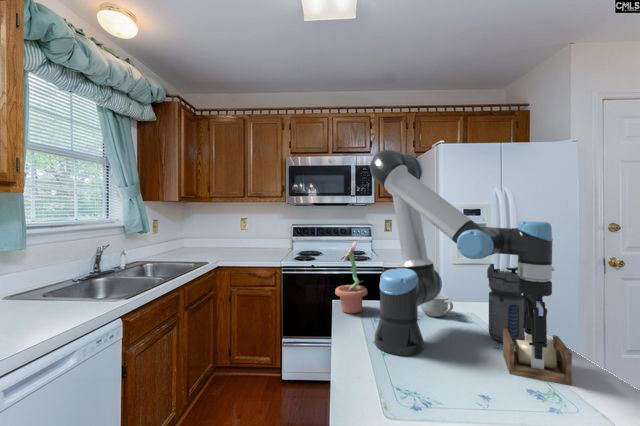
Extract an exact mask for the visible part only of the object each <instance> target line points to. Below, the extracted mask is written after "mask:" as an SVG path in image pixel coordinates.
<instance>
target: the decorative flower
mask: <svg viewBox="0 0 640 426" xmlns="http://www.w3.org/2000/svg"><path fill="white" fill-rule="evenodd" d="M356 247H357V241H353V242H352V245H351V248H350V249H349V250H348V252H347V253H346V254H345V256H344V257H343V258H342V260H341V264H344V263H346V262H347V261H348V258H349V260H350V261H349V262H350V264H351V268H350V271H349V273H350V274H351V273H352V279H353V282H354V283H353V284H346V285H345V284H344V285H340V286H338V287H336V288H335V291H334V294H335V296H338V297H339V300H340V308H341V311H342V312H344V313H345V312H346V314H358V313H360V312H362V310H363V298H364V297H365V296H367V295H368V289H367V288H366V286H363V285H359V284H360V283H362V282H363V280H361V281H360V279H359V278H358V277H357V264H356V261H355V254H354V251H355V250H356Z"/></svg>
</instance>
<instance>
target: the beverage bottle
mask: <svg viewBox="0 0 640 426" xmlns="http://www.w3.org/2000/svg"><path fill="white" fill-rule="evenodd" d="M505 269H506V270H501V268H495V263H489V266H488V268H487V270H486V271H487V272H486V274H487V275H486V277H487V279H488V280H487V281H488V288H489V289H490V290H491V291H490V292H488V334H489V335H490V337H491V338H492V339H493V340H496V341H497V342H500V343H503V328H505V329H507V330H508V332H509V334H510V336H511V339H512V341H513V343H514V345H515V341H516V340H524V341H525V334H526V333H525V329H524V328H523V324H524V297H523V296H524V295H527V294H524V293H521V292H519V291H518V278H519V277H520V276H518V266H516V267H505ZM507 270H508V271H507Z"/></svg>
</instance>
